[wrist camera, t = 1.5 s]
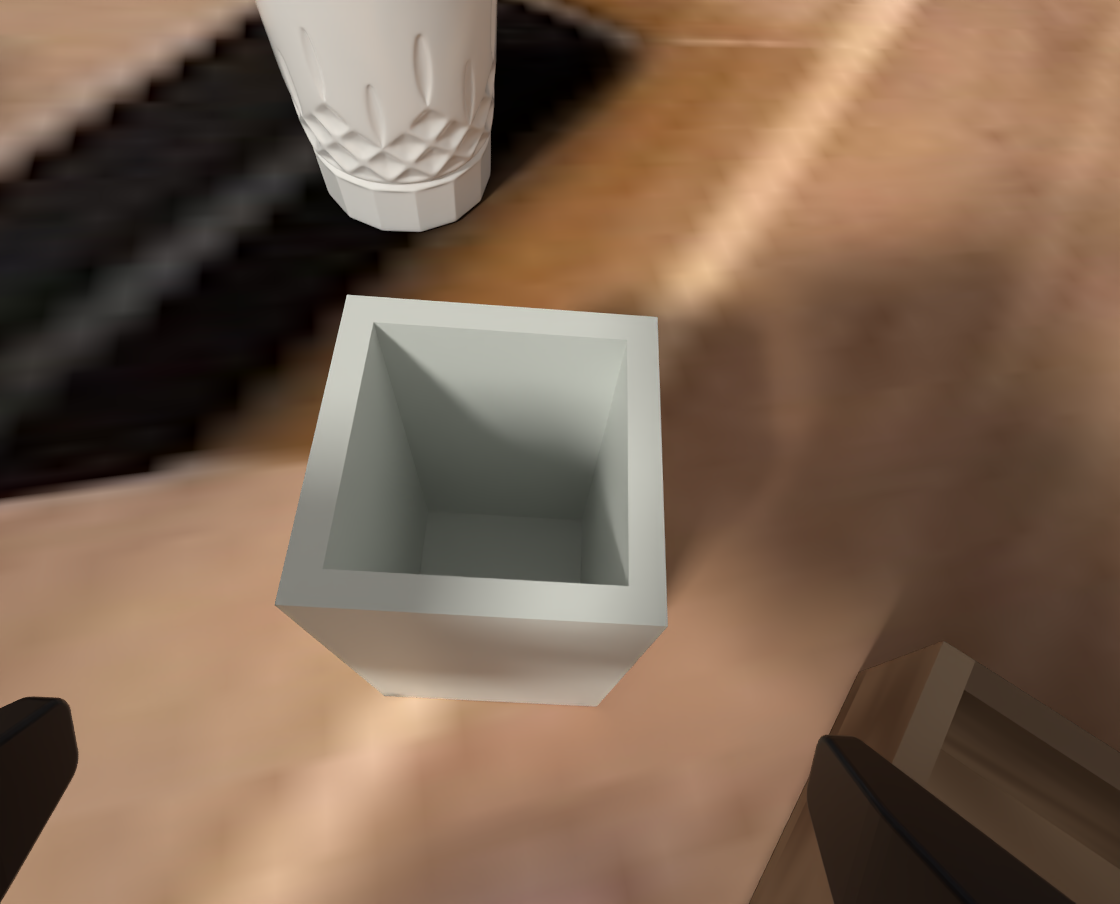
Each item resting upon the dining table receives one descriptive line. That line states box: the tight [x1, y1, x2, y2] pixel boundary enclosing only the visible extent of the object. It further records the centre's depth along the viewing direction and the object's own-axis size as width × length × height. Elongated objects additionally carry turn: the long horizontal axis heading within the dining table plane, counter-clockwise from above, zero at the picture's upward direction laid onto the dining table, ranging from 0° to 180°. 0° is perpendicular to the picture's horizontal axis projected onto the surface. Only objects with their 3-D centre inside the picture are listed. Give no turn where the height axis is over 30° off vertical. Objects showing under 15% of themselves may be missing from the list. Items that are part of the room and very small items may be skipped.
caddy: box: [275, 295, 668, 706], centre depth 16 cm, size 6×6×10 cm
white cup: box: [255, 0, 497, 232], centre depth 24 cm, size 8×8×10 cm
